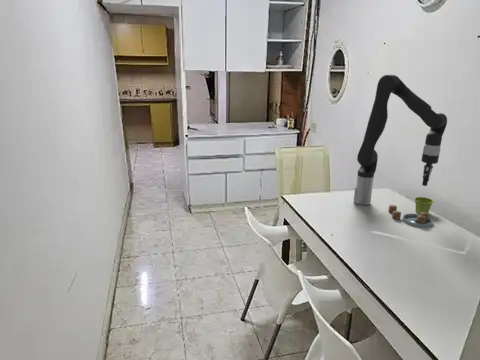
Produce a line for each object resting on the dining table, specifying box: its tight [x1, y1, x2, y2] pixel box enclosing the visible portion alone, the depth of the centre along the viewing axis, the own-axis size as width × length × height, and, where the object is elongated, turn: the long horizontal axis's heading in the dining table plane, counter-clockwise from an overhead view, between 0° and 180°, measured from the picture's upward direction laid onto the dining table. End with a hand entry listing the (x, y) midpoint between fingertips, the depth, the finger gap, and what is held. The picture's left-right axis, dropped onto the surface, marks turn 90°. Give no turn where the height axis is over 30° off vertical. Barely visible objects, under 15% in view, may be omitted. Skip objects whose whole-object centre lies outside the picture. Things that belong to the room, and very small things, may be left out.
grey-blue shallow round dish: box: [401, 213, 434, 228], centre depth 181 cm, size 14×14×3 cm
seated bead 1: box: [416, 215, 426, 224], centre depth 177 cm, size 4×4×4 cm
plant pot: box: [414, 196, 435, 214], centre depth 191 cm, size 9×9×9 cm
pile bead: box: [388, 204, 398, 214], centre depth 193 cm, size 4×4×4 cm
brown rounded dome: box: [391, 210, 402, 221], centre depth 185 cm, size 4×4×4 cm
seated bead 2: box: [420, 212, 430, 223], centre depth 181 cm, size 4×4×4 cm
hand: (425, 183), depth 180 cm, fingers open, 8 cm apart
